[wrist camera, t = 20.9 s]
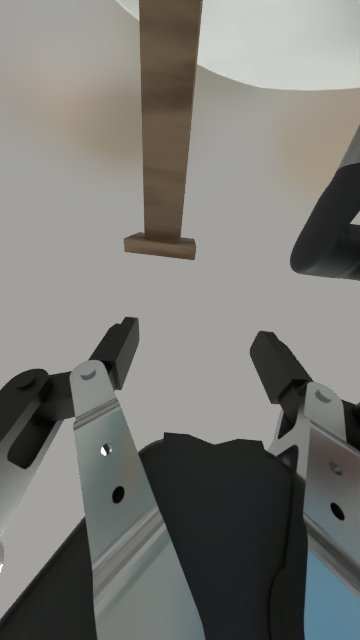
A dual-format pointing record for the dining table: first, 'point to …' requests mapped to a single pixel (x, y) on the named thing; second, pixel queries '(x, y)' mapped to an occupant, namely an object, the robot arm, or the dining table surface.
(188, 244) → the stand
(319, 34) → the dining table surface
